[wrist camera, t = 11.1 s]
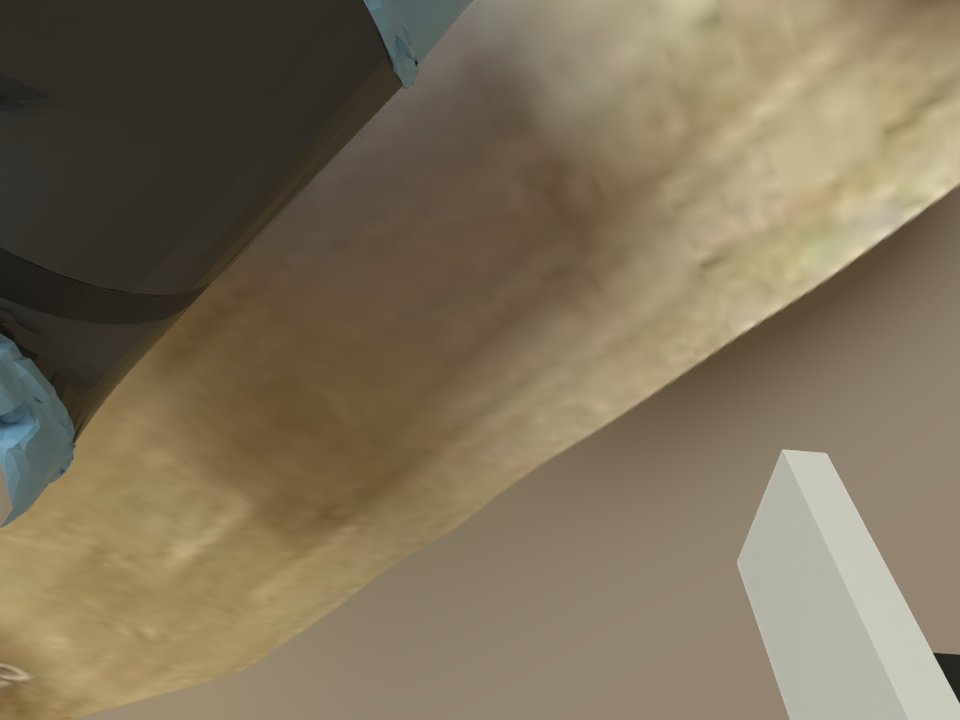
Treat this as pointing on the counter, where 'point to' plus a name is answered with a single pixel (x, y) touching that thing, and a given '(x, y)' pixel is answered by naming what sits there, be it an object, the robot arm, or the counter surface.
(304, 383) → the counter surface
